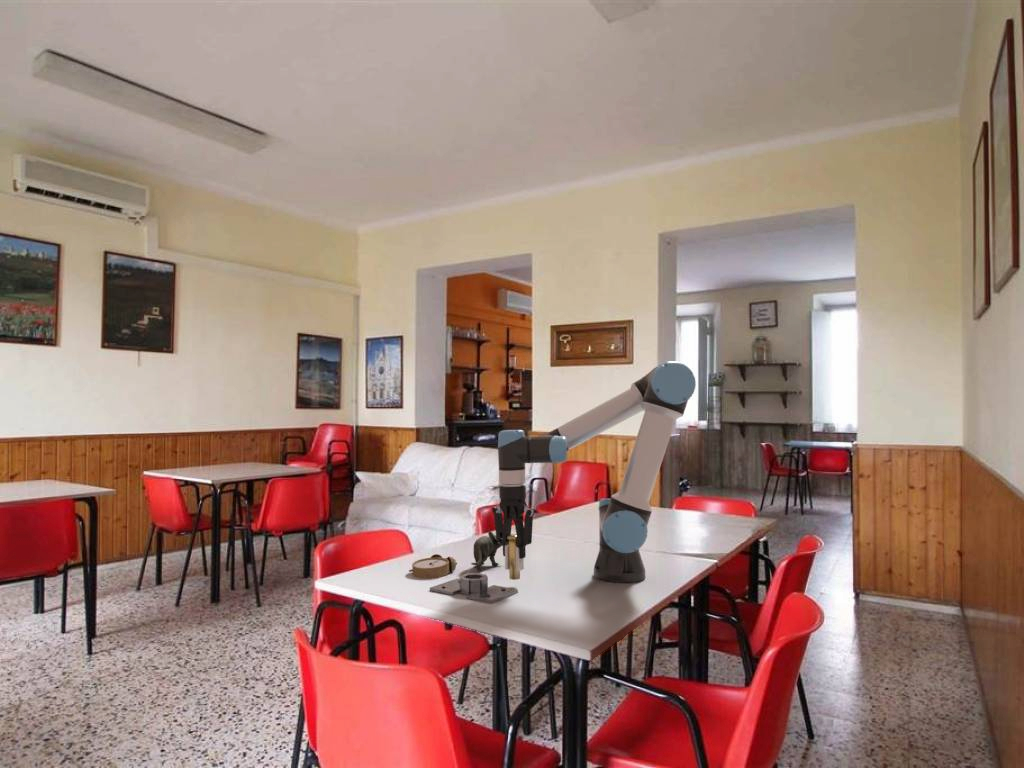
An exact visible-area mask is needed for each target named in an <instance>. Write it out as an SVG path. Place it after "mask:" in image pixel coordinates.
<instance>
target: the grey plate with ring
mask: <svg viewBox="0 0 1024 768" xmlns="http://www.w3.org/2000/svg"><path fill="white" fill-rule="evenodd" d="M488 580H489V579H488V575H487V574H486V573H485V574H484V573H479V572H478V573H477V572H473V573H470V572H469V573H464V574H462V575H459V577H457V578H455V579H452V580H448V581H446V582H442V583H440V584H436V585H434V586H431V587H429V591H430V592H435V593H440V594H444V595H448V596H449V595H450V596H455V595H457V594H461V595H465V596H466V599H468V600H472V601H477V602H483V603H488V604H493V603H496V602H499V601H501V600H503V599H506V598H508V597H511V596H513V595H516V594H518V593H519V589H517V588H511V587H508V586H507V587H506V586H501V585H496V584H495V585H494V584H493V585H491V586H488V585H489V581H488Z"/></svg>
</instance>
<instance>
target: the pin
mask: <svg viewBox="0 0 1024 768" xmlns="http://www.w3.org/2000/svg"><path fill="white" fill-rule="evenodd" d="M507 539H508V540H509V569H508V570H509V571H508V573H509V574H508V575H509V580H514V581H515V580H520V579H521V570H520V571H516V547H517V545H518V542H517V535H516V533H515V534H513V533H512V534H511V535H507Z"/></svg>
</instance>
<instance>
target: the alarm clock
mask: <svg viewBox="0 0 1024 768" xmlns="http://www.w3.org/2000/svg"><path fill="white" fill-rule="evenodd" d="M457 565H458V562H456V559H455V558H454V557H452V556H447V557H443V556H442V554H441V555H440V554H438V553H436V554H432V555H431V556H430V557H425V558H421V559H420V558H419V559H418V560H415V561H414V562H412V565H411V567H412V568H411V569H409V570H408V572H412V575H413V576H414V577H417V578H421V579H436V578H441V577H444V576H446V575H448V574H450V573H453V572H454V571H455V570H456V567H457Z"/></svg>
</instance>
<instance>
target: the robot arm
mask: <svg viewBox="0 0 1024 768" xmlns="http://www.w3.org/2000/svg"><path fill="white" fill-rule="evenodd" d="M695 389H696V377H695V374H694V373H693V371H692V370H691V368H689V367H688V366H687V365H686V364H684V363H681V362H680V361H669V360H668V361H664V362H662V363H660V364H658V365H657V366H656V367H654V368H652V369H651V370H650V371H649V372H648V373H646V374H645V375H644V376H643V377H641V378H640V379H638V380H636V381H635V382H633V383H632V384H631V385H630V388H629V389H626V390H625V391H623V392H621V393H619V394H618V395H616V396H614V397H612V398H610V399H609V400H606V401H605V402H603V403H601V404H599V405H597V406H596V407H593V408H592V409H589V410H588V411H586V412H584V413H583V414H581V415H579V416H576V417H575V418H573V419H571V420H569V421H567V422H565V423H564V424H562V425H560V426H558V427H557V428H555V429H552V430H551V431H549V432H547V433H545V434H543V435H541V436H526V435H525V431H524V430H522V429H506V430H505V429H504V430H501V431H499V432H498V434H497V435H498V436H497V437H498V439H497V440H498V441H497V442H498V443H497V454H498V455H497V456H498V457H497V458H498V484H499V487H498V492H499V493H498V495H499V499H500V501H499V504H498V505H497V506H494V507H492V508H491V512H492V514H493V519H494V527H495V529H494V530H495V535H496V540H497V542H500V543H501V544H502V545H503V546H502V556H503V557H504V569H505V570H509V540H508V539H507V535H512V525H513V523H514V527H515V534H516V535H517V542H518V545H517V547H516V571H520V572H521V571H522V570H524V569H525V563H524V562H525V561H524V559H526V547H527V546H528V545H531V544H532V541H533V540H532V538H533V524H534V523H533V522H534V520H533V518H534V515H535V512H536V510H535V508H531V507H528V506H527V502H526V498H527V489H526V488H527V486H526V485H525V483H526V464H558V463H565V462H567V460H568V451H570V450H572V449H574V448H575V447H577V446H579V445H581V444H583V443H585V442H587V441H588V440H590V439H592V438H594V437H597V436H598V435H601V433H604V432H605V431H608V430H609V429H611V428H613V427H616V426H617V425H618V424H620V423H622V422H624V421H626V420H628V419H630V418H632V417H634V416H636V415H638V414H640V413H641V412H644V414H643V417H642V420H641V422H640V426H639V429H638V431H637V434H636V437H635V438H636V439H635V441H634V445H633V447H632V451H631V453H630V456H629V459H628V463H627V466H626V468H625V469H626V470H625V472H624V475H623V479H622V481H621V483H620V484H621V485H620V487H619V490H618V491H617V492H615V493H614V494H612V495H611V496H610V498H601V499H600V500H599V502H598V504H599V505H598V510H599V511H598V517H599V518H598V519H599V521H598V524H599V525H598V527H599V528H598V530H599V533H598V534H599V535H598V536H599V538H598V539H599V550H598V553H597V556H596V559H595V562H594V563H595V564H594V566H593V576H594V578H596V579H598V580H601V581H605V582H612V583H634V582H635V583H636V582H640V581H643V580H644V579H646V568H645V565H644V561H643V559H642V555H641V552H640V549H641V548H642V547H643V546H644V544H645V542H646V541H647V538H648V524H649V521H650V519H651V516H652V515H651V514H652V512H653V508H652V506H651V504H650V499H651V497H652V495H653V492H654V491H653V490H654V487H655V484H656V482H657V478H658V475H659V472H660V468H661V466H662V464H663V463H662V462H663V460H664V456H665V454H666V452H667V447H668V445H669V441H670V438H671V436H672V432H673V429H674V427H675V423H676V420H677V419H679V418H681V417H684V413H685V411H686V407H687V404H688V401H689V400H690V399H691V397H692V396H693V394H694V393H695Z"/></svg>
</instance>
